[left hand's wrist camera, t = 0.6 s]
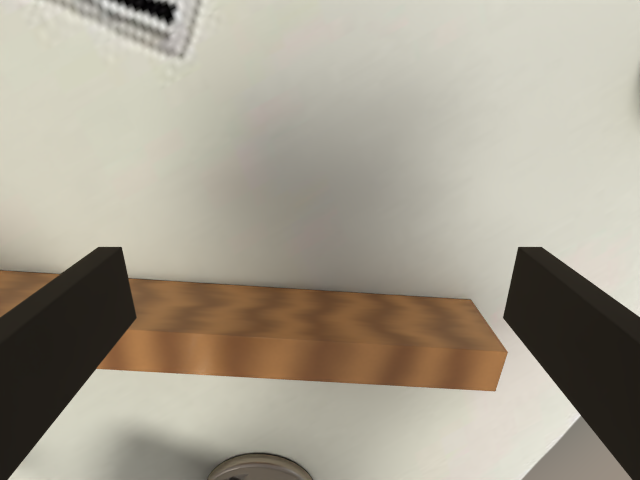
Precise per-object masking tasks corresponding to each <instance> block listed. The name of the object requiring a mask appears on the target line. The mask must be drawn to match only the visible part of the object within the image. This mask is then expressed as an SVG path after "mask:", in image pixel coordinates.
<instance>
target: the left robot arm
mask: <svg viewBox="0 0 640 480" xmlns="http://www.w3.org/2000/svg"><path fill="white" fill-rule="evenodd" d="M136 318H137V316H136V312H135V307H134V302H133V298H132V293H131V288H130V284H129V279H128V274H127V270H126V265H125V260H124V256H123V251H122V247H98V248H96V249H95V250H94V251H92V252H91V253H89V254H88V255H87V256H85V257H84V258H82V259H81V260H80V261H78V262H77V263H75V264H74V265H73V266H71V267H70V268H68V269H67V270H66V271H64V272H63V273H61V274H60V275H59V276H57V277H56V278H54V279H53V280H52V281H50V282H49V283H47V284H46V285H45V286H43V287H42V288H40V289H39V290H38V291H36V292H35V293H33V294H32V295H31V296H29V297H28V298H27V299H25V300H24V301H22V302H21V303H20V304H18V305H17V306H15V307H14V308H13V309H11V310H10V311H8V312H7V313H6V314H4V315H3V316H1V317H0V480H8V478H9V477H10V476H11V475H12V473H13V472H14V471H15V470H16V468H17V467H18V466H19V465H20V463H21V462H22V461H23V460H24V458H25V457H26V456H27V455H28V453H29V452H30V451H31V450H32V448H33V447H34V446H35V445H36V443H37V442H38V441H39V440H40V438H41V437H42V436H43V435H44V433H45V432H46V431H47V430H48V428H49V427H50V426H51V425H52V423H53V422H54V421H55V420H56V418H57V417H58V416H59V415H60V413H61V412H62V411H63V410H64V408H65V407H66V406H67V405H68V403H69V402H70V401H71V400H72V398H73V397H74V396H75V395H76V393H77V392H78V391H79V390H80V388H81V387H82V386H83V385H84V383H85V382H86V381H87V380H88V378H89V377H90V376H91V375H92V373H93V372H94V371H95V370H96V368H97V367H98V366H99V365H100V363H101V362H102V361H103V360H104V358H105V357H106V356H107V355H108V353H109V352H110V351H111V350H112V348H113V347H114V346H115V345H116V343H117V342H118V341H119V340H120V338H121V337H122V336H123V335H124V333H125V332H126V331H127V330H128V328H129V327H130V326H131V325H132V323H133V322H134V321H135V320H136ZM503 318H504V320H505V321H506V322H507V323H508V325H509V326H510V327H511V328H512V330H513V331H514V332H515V333H516V335H517V336H518V337H519V338H520V340H521V341H522V342H523V343H524V345H525V346H526V347H527V348H528V350H529V351H530V352H531V353H532V355H533V356H534V357H535V358H536V360H537V361H538V362H539V363H540V365H541V366H542V367H543V368H544V370H545V371H546V372H547V373H548V375H549V376H550V377H551V378H552V380H553V381H554V382H555V383H556V385H557V386H558V387H559V388H560V390H561V391H562V392H563V393H564V395H565V396H566V397H567V398H568V400H569V401H570V402H571V403H572V405H573V406H574V407H575V408H576V410H577V411H578V412H579V413H580V415H581V416H582V417H583V418H584V420H585V421H586V422H587V423H588V425H589V426H590V427H591V428H592V430H593V431H594V432H595V433H596V435H597V436H598V437H599V438H600V440H601V441H602V442H603V443H604V445H605V446H606V447H607V448H608V450H609V451H610V452H611V453H612V455H613V456H614V457H615V458H616V460H617V461H618V462H619V463H620V465H621V466H622V467H623V468H624V470H625V471H626V472H627V473H628V475H629V476H630V477H631V478H632V480H640V317H639V316H637V315H636V314H634V313H633V312H632V311H630V310H629V309H627V308H626V307H625V306H623V305H622V304H620V303H619V302H618V301H616V300H615V299H613V298H612V297H611V296H609V295H608V294H607V293H605V292H604V291H602V290H601V289H600V288H598V287H597V286H595V285H594V284H593V283H591V282H590V281H588V280H587V279H586V278H584V277H583V276H581V275H580V274H579V273H577V272H576V271H574V270H573V269H572V268H570V267H569V266H567V265H566V264H565V263H563V262H562V261H560V260H559V259H558V258H556V257H555V256H553V255H552V254H551V253H549V252H548V251H546V250H545V249H544V248H542V247H518V251H517V256H516V260H515V265H514V270H513V274H512V279H511V284H510V288H509V293H508V298H507V302H506V307H505V312H504V316H503ZM207 480H312V478H311V477H310V476H309V474H308V473H307V472H306V471H305V470H304V469H303V468H301V467H300V466H298V465H297V464H295V463H293V462H291V461H289V460H287V459H284V458H281V457H277V456H273V455H266V454H249V455H242V456H238V457H234V458H232V459H229V460H227V461H225V462H223V463H221V464H220V465H219V466H217V467H216V468H215V469H214V470H213V471H212V472H211V474H210V475H209V477H208V479H207Z"/></svg>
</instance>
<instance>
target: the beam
mask: <svg viewBox="0 0 640 480" xmlns="http://www.w3.org/2000/svg"><path fill="white" fill-rule="evenodd" d="M59 275H60V274H48V273H32V272H16V271H0V317H1V316H3V315H4V314H6V313H7V312H8V311H10V310H11V309H13V308H14V307H15V306H17V305H18V304H20V303H21V302H22V301H24V300H25V299H27V298H28V297H29V296H31V295H32V294H33V293H35V292H36V291H38V290H39V289H40V288H42V287H43V286H45V285H46V284H47V283H49V282H50V281H52V280H53V279H54V278H56V277H57V276H59ZM129 284H130V288H131V293H132V298H133V302H134V307H135V312H136V316H137V318H136V320H135V321H134V322H133V323H132V325H131V326H130V327H129V328H128V330H127V331H126V332H125V333H124V335H123V336H122V337H121V338H120V340H119V341H118V342H117V343H116V345H115V346H114V347H113V348H112V350H111V351H110V352H109V353H108V355H107V356H106V357H105V358H104V360H103V361H102V362H101V363H100V365H99V366H98V367H97V368H96V369H110V370H128V371H145V372H163V373H181V374H198V375H216V376H234V377H252V378H269V379H287V380H305V381H322V382H340V383H358V384H376V385H393V386H411V387H429V388H446V389H464V390H482V391H495V390H496V387H497V384H498V381H499V378H500V375H501V372H502V369H503V365H504V362H505V359H506V356H507V353H508V352H507V350H506V349H505V347H504V346H503V345H502V343H501V342H500V340H499V339H498V338H497V336H496V335H495V333H494V332H493V330H492V329H491V328H490V326H489V325H488V323H487V322H486V320H485V319H484V318H483V316H482V315H481V313H480V312H479V311H478V309H477V308H476V306H475V305H474V303H473V302H472V301H471V300H465V299H449V298H433V297H417V296H401V295H385V294H369V293H353V292H337V291H320V290H304V289H288V288H272V287H256V286H240V285H224V284H208V283H192V282H176V281H160V280H144V279H129Z"/></svg>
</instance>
